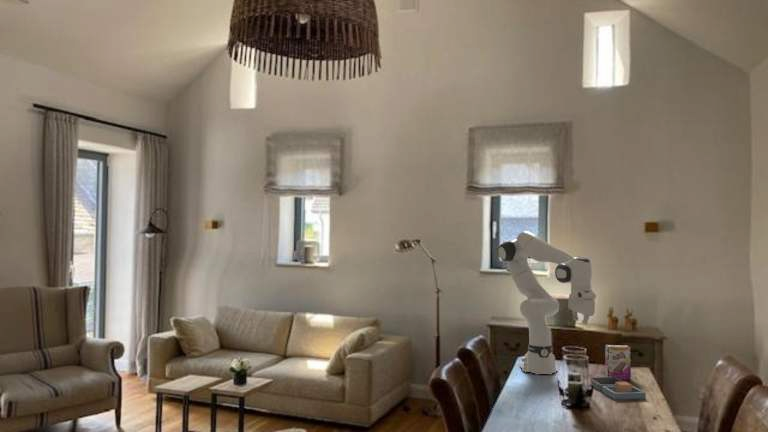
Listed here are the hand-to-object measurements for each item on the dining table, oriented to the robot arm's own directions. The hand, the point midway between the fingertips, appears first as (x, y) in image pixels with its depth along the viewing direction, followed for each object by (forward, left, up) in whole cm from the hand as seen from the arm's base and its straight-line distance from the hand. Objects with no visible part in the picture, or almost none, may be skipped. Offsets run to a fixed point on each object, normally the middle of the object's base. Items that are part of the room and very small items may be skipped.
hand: (580, 322), depth 267 cm
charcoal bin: (-5, +15, -31) cm, 35 cm away
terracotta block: (+10, +15, -31) cm, 36 cm away
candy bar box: (-18, +27, -32) cm, 45 cm away
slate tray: (+10, +15, -31) cm, 36 cm away
